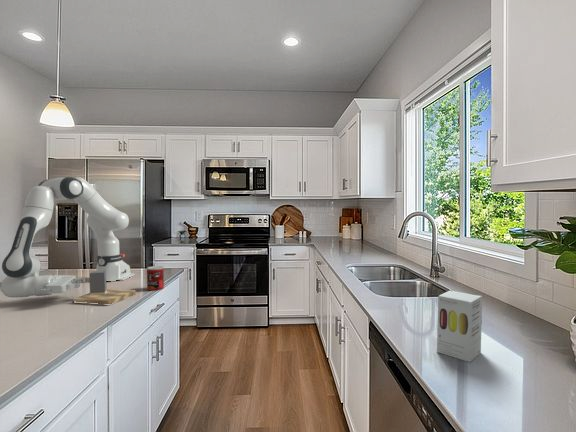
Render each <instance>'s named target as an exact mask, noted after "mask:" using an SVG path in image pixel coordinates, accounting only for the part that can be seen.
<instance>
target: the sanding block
mask: <svg viewBox="0 0 576 432" xmlns="http://www.w3.org/2000/svg"><path fill="white" fill-rule="evenodd" d="M107 289H108V287H107V282H106V271H96V270H94V271H90V272H89V293H90V295H99V294H105V293H106V292H107Z"/></svg>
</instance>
